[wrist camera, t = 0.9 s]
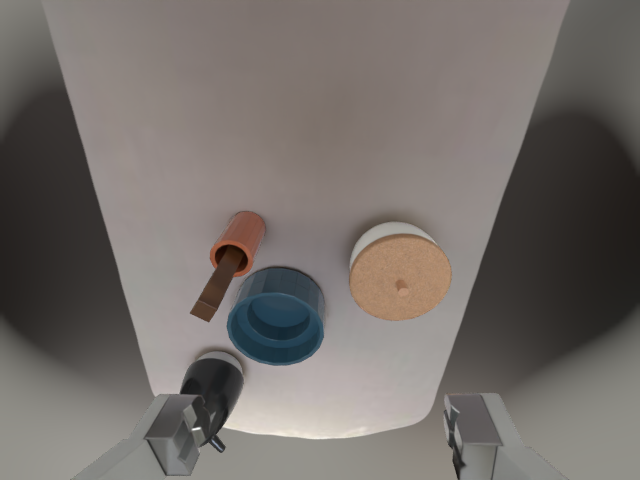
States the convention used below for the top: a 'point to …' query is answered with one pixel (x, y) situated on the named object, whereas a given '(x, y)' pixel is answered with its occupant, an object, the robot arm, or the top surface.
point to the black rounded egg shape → (215, 389)
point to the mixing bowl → (277, 317)
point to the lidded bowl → (398, 272)
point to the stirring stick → (218, 284)
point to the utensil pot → (240, 240)
